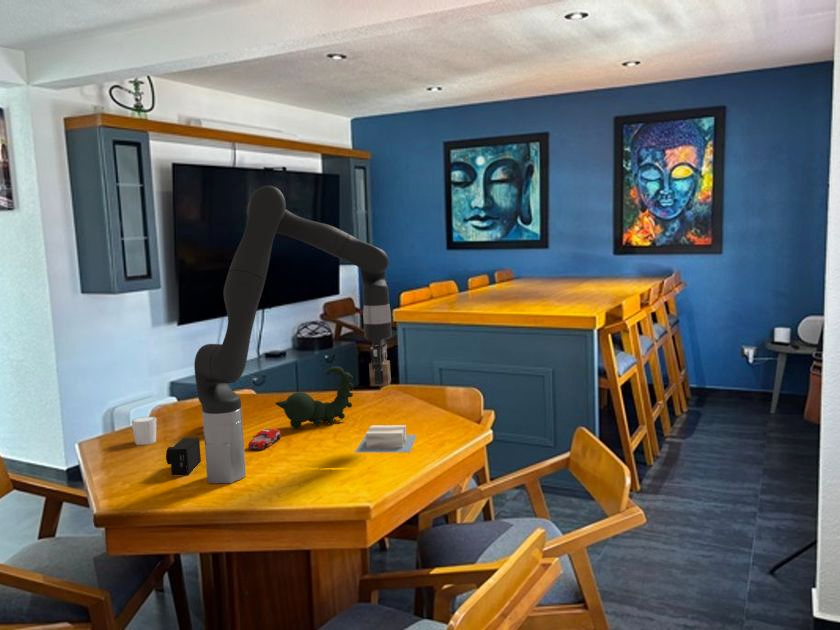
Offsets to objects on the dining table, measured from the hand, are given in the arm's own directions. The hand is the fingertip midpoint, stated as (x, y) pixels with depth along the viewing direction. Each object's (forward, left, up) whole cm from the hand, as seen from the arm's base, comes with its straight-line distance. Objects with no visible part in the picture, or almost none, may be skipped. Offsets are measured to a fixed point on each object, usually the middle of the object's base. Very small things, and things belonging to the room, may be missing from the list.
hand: (380, 381), depth 192 cm
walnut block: (0, 0, -1) cm, 1 cm away
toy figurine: (+21, +25, -18) cm, 38 cm away
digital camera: (-20, +49, -18) cm, 56 cm away
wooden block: (-1, -1, -17) cm, 17 cm away
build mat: (-1, -1, -18) cm, 18 cm away
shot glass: (+3, +72, -18) cm, 74 cm away
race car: (+1, +35, -19) cm, 39 cm away
